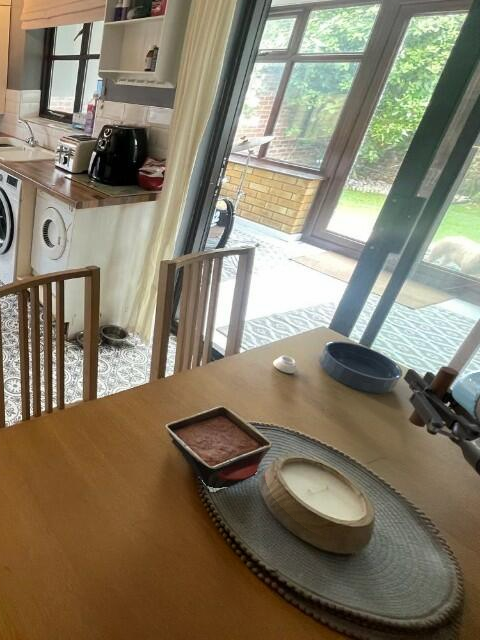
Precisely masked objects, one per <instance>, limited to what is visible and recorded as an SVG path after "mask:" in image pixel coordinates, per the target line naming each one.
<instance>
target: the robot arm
mask: <svg viewBox="0 0 480 640" xmlns="http://www.w3.org/2000/svg"><path fill="white" fill-rule="evenodd" d="M435 376H436V374H434V373H433V372H431V371H427V372H426V373H425V374H424V376H423V377H422V376H420V374H419V373H418V372H417V371H416V370H415V369H413V368H408V370H407V371H406V373H405V375H404V376H403V380H404V381H405V382H406V383H407V384H408V388H409V389H410V391H412V394H411V396H410V397H409V399H408V401H409V403H410V404H411V406H412V407H413V408H414V410H416V411H417V413H418V414H419V415H420V417H421V418H422V420H423V421H424V423H425V424H426V425H425V426H426V432H427V433H428V434H430V435H432V436H437V434H440V435H442V436H444V437H448V439H449V441H451V442H452V443H454V444H455V445H456V446H458V447H459V448H460V450H461V453H462V456H463V458H464V460H465V461H466V462H467V463H468V464H469V465H470V467H471V468H472V469H473V471H475V472H476V473H477V474H478V476H480V369H479V370H474V371H470V372H468V373H466V374H464V375H462V376H460V377H459V378H458V379H457V380H456V381H454V383H453V386H452V388H451V387H450V388H449V390H448V391H447V393H446V394H445V396H444V397H443V399H442V400H440V399H438V398H437V397H436V396H435V395H434V394H433V392H434V390H433V389H432V388H431V387H430V384H431V382H432V381H433V379H434V378H435ZM448 403H449V404H448Z"/></svg>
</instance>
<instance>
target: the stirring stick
mask: <svg viewBox="0 0 480 640" xmlns="http://www.w3.org/2000/svg"><path fill="white" fill-rule="evenodd" d="M459 375H460V373H459V372H458V370H456V369H455V368H452V367H449V366H445V365H444V366H440V368H439V369H438V371H437V373H436V374H435V378H434V379H433V381H432V382H431V384H430V387H431V388H432V389H433V390H434V392H433V394H434V395H435V396H436V397H437V398H438V399H440V400H442V399H443V397H444V396H445V394H446V393H447V391H448V390H449V388H450V389H451V386H452V385H454V383H455V382H456V381H455V380H456V379H457V377H458V376H459ZM408 421H409V422H410V423H411V424H412V425H414V426H416V427H420V428H425V426H427V425H426V424H425V423H424V421H423V420H422V418H421V417H420V415H419V414H418V413H417V411H416V410H415V409H413V411H412V413H411V415H410V416H409V418H408Z"/></svg>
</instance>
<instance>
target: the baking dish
mask: <svg viewBox="0 0 480 640" xmlns="http://www.w3.org/2000/svg"><path fill="white" fill-rule="evenodd" d="M164 426H165V430H166V431H167V434H168V435H169V437H170V438H171V439H172V440H171V441H170V442H171V443H172V444H173V445H174V446H175V448H176V449H177V450H178V451H179V452H180V453H181V455H182V456H183V458H184V460H186V462H187V464H188V465H189V466H190V469H192V471H193V473H194V474H195V476H197V475H198V476H199V477H200V478H201V479H202V480H203V482H204V483H205V484H206V486H209V487H213V488H222V487H229V488H231V487H230V486H232V487H234V486H236V485H238V484H240V483H239V482H241V483H243V482H245V481H247V480H249V479H251V478H253V477H255V476H256V475H255V473H256V472H258V469H259V466H260V464H261V462H262V460H263V459H264V457H265V456H266V455H267V454H268V452H269V451H271V450H270V449H271V448H272V447H273V443H272V441H271V440H270V439H268V437H267V436H266V435H265V434H263V432H261V431H260V430H259V429H257V428H256V427H254V425H252V424H251V423H250V422H249V421H248V420H246V419H245V418H243V417H242V416H241V415H239V414H238V413H236V412H235V411H234V410H232V409H230V408H229V407H227V406H224V405H217V406H216V407H211V408H208V409H206V410H203V411H200V412H198V413H195V414H193V415H190V416H186V417H184V418H181V419H178V420H175V421H172V422H171V421H170V422H169V423H167V424H165V425H164ZM252 476H253V477H252ZM250 477H251V478H250ZM248 478H249V479H248ZM246 479H247V480H246ZM244 480H245V481H244ZM242 481H243V482H242ZM237 483H238V484H237ZM235 484H236V485H235ZM233 485H234V486H233Z"/></svg>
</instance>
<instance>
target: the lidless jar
mask: <svg viewBox="0 0 480 640" xmlns="http://www.w3.org/2000/svg"><path fill="white" fill-rule="evenodd" d="M272 363H273V366H274V367H275V368H276V369H278V370H279V371H281V372H283V373H287V374H294V373H296V372H297V365H296V361H295V359H294V358H292V357H290V356H288V355H281V356H280V357H278V358H277V359H275V360H274V361H273V362H272Z"/></svg>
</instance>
